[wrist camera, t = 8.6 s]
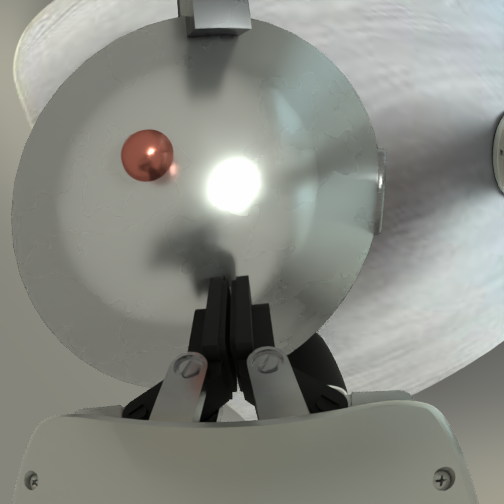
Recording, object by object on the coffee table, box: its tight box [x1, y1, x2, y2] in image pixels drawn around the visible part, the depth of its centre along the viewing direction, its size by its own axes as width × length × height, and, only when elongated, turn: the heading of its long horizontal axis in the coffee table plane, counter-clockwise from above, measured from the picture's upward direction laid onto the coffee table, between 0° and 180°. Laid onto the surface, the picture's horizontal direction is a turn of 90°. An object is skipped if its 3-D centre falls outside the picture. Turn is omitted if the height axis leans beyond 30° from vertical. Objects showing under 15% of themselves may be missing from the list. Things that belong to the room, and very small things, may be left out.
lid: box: [11, 0, 386, 388], centre depth 11 cm, size 19×23×2 cm
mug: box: [287, 332, 348, 395], centre depth 32 cm, size 12×9×10 cm
